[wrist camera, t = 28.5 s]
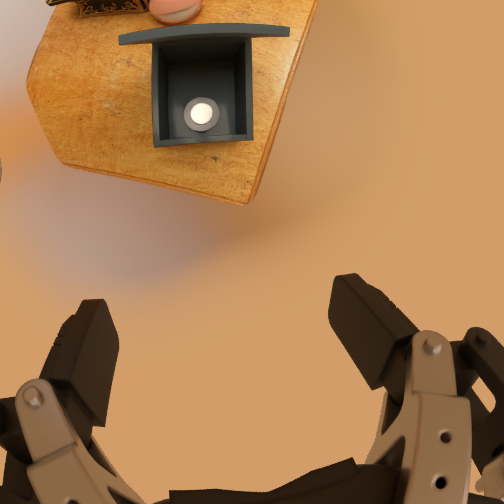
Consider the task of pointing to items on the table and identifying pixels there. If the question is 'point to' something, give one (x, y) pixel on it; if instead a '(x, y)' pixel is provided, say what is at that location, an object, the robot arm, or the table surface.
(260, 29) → the bin lid
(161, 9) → the toy ball
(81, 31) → the table surface
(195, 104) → the pepper grinder
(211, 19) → the table surface
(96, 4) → the decorative box
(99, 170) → the table surface
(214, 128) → the bin
